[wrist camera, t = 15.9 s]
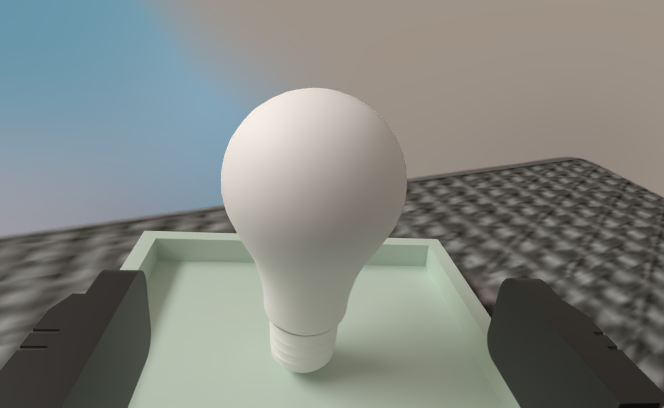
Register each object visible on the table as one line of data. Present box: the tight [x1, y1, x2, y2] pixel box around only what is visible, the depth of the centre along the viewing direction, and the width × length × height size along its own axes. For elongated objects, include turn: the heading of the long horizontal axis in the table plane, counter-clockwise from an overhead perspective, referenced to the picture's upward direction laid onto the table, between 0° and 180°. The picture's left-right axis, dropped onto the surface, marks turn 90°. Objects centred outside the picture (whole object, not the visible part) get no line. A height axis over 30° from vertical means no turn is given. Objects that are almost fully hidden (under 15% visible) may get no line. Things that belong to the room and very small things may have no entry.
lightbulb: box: [221, 88, 407, 373], centre depth 16 cm, size 6×6×11 cm
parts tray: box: [120, 231, 520, 408], centre depth 18 cm, size 17×17×2 cm
